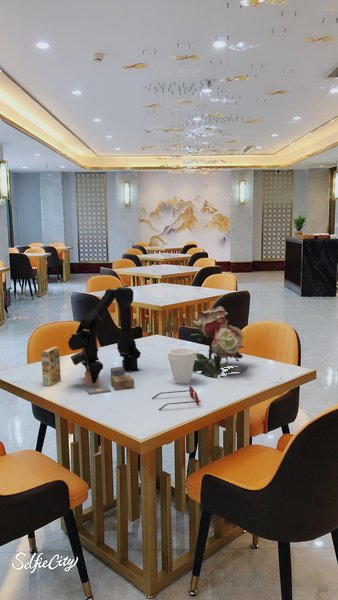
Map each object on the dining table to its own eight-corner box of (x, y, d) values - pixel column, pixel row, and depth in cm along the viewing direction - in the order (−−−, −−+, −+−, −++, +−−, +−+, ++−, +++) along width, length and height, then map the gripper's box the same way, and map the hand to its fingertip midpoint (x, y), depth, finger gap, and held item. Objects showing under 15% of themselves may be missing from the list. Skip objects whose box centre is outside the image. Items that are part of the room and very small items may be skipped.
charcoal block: (121, 377, 233) (121, 366, 232) (124, 380, 228) (124, 369, 227) (110, 378, 231) (110, 368, 230) (113, 381, 226) (113, 370, 226)
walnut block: (129, 383, 224) (129, 374, 223) (134, 388, 217) (133, 379, 216) (111, 385, 222) (111, 376, 221) (115, 391, 214) (115, 381, 213)
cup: (181, 376, 233) (181, 346, 231) (202, 381, 225) (201, 350, 223) (162, 381, 225) (161, 351, 223) (182, 387, 216) (182, 356, 214)
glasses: (201, 408, 193) (201, 395, 192) (157, 411, 189) (157, 398, 189) (192, 396, 206) (191, 384, 206) (151, 399, 203) (151, 387, 202)
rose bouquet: (223, 381, 224) (223, 313, 220) (178, 368, 246) (178, 306, 242) (261, 370, 241) (261, 307, 237) (215, 359, 263) (215, 301, 259)
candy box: (51, 386, 221) (49, 351, 219) (42, 385, 222) (40, 350, 220) (61, 380, 229) (59, 346, 227) (52, 379, 231) (51, 346, 228)
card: (107, 387, 218) (107, 385, 217) (110, 391, 212) (110, 389, 212) (86, 390, 214) (86, 388, 214) (89, 394, 209) (89, 392, 209)
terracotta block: (96, 381, 227) (95, 370, 227) (98, 384, 223) (98, 373, 222) (84, 382, 226) (84, 371, 225) (87, 385, 221) (87, 374, 220)
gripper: (67, 343, 228) (69, 377, 230) (76, 352, 210) (77, 389, 213) (92, 341, 232) (93, 374, 234) (102, 349, 214) (104, 385, 217)
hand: (91, 380), depth 224 cm, fingers open, 8 cm apart
